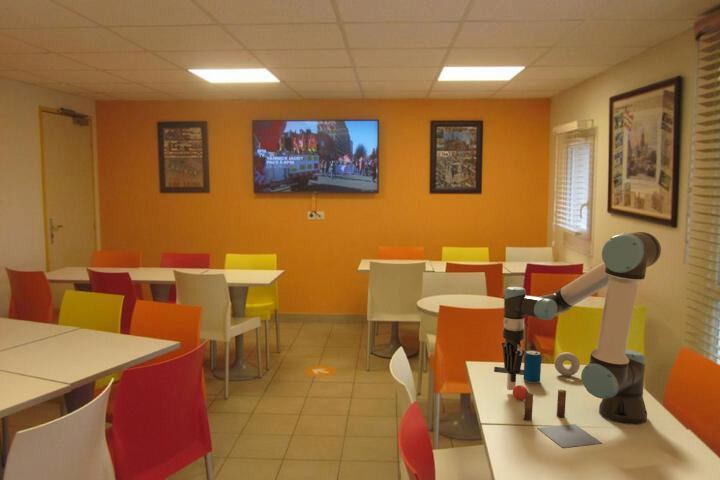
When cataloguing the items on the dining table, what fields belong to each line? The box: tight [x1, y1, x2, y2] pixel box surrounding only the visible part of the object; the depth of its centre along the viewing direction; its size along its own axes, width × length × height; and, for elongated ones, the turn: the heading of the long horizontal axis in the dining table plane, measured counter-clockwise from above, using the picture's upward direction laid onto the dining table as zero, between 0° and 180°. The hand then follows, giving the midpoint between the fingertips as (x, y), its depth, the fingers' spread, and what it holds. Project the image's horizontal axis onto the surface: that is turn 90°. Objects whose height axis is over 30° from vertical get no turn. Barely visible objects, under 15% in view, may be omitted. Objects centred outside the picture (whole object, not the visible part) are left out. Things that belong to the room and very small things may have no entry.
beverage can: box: [523, 349, 542, 385], centre depth 231 cm, size 6×6×12 cm
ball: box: [512, 384, 529, 402], centre depth 212 cm, size 6×6×6 cm
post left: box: [523, 391, 534, 422], centre depth 194 cm, size 3×3×9 cm
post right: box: [556, 389, 567, 419], centre depth 198 cm, size 3×3×9 cm
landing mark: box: [537, 423, 603, 449], centre depth 183 cm, size 14×14×1 cm
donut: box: [554, 351, 581, 377], centre depth 239 cm, size 10×3×10 cm, turn 75°
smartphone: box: [493, 366, 524, 376], centre depth 244 cm, size 7×1×14 cm
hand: (511, 389), depth 219 cm, fingers closed
